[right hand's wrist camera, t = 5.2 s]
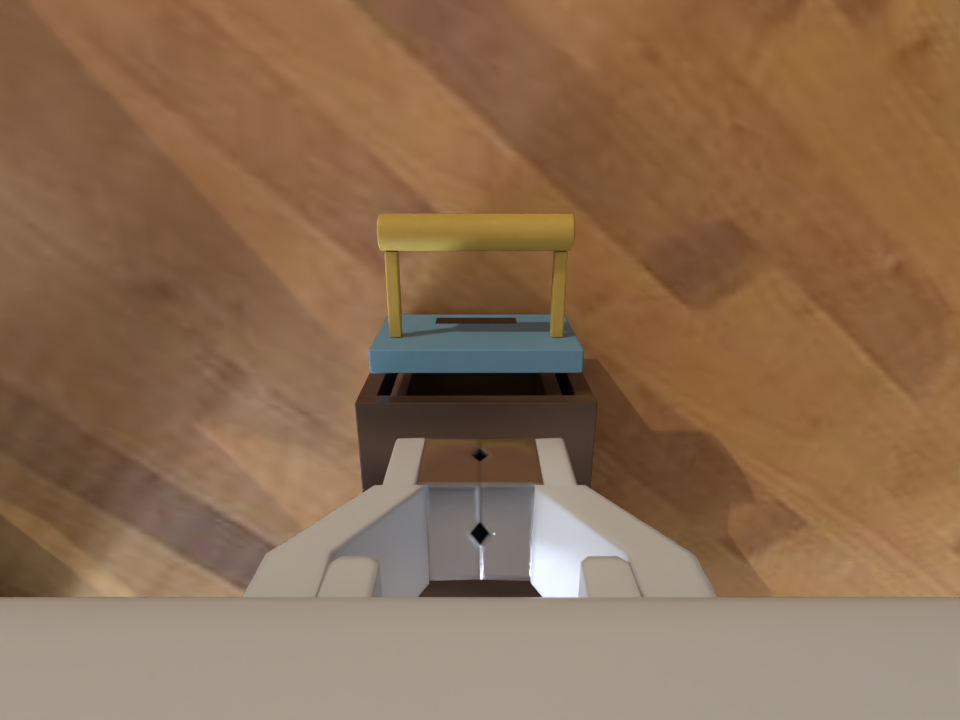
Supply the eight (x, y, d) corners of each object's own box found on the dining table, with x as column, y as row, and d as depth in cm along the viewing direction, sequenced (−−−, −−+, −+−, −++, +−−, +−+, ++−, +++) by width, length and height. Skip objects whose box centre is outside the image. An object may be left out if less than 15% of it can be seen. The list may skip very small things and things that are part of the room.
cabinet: (382, 346, 33) (354, 402, 25) (569, 346, 33) (597, 402, 26) (398, 605, 40) (380, 710, 32) (554, 605, 40) (572, 709, 32)
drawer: (381, 206, 29) (358, 218, 24) (570, 206, 29) (593, 218, 24) (403, 576, 38) (390, 652, 32) (549, 576, 38) (562, 652, 32)
